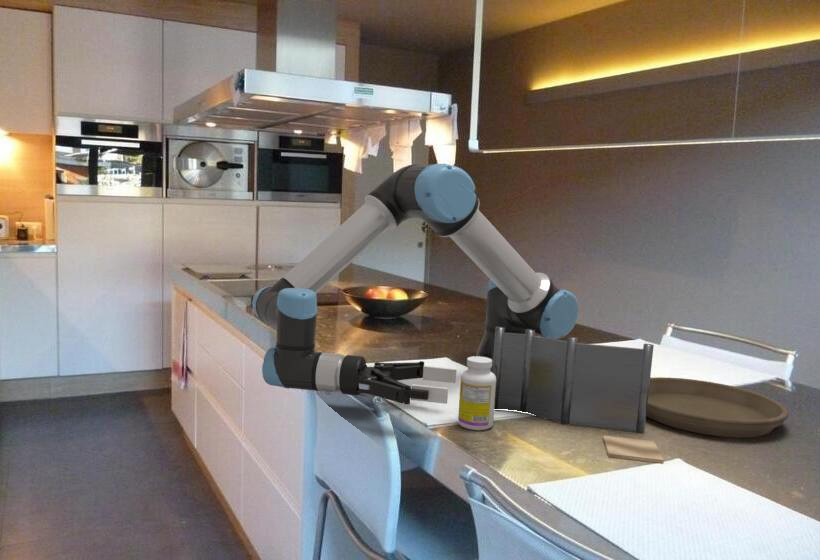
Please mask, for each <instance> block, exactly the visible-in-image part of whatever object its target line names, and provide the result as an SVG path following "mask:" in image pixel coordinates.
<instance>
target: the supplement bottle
mask: <svg viewBox="0 0 820 560" xmlns="http://www.w3.org/2000/svg"><path fill="white" fill-rule="evenodd" d="M466 366H467V369H466V370H464V371H463V372H462V373H461V375H460V381H459V382H460V385H459V387H460V388H459V401H458V418H457V419H458V421H457V422H458V424H459V426H461V427H462V428H464V429H468V430H471V431H486V430H489V429H491V428H493V425H494V417H495V411H494V405H495V390H496V376H495V375H494V374H493V373H492V371H491V370H492V368H491V367H492V359H490V358H487V357H480V356H474V355H473V356H468V357H467V358H466Z"/></svg>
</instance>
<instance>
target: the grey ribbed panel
mask: <svg viewBox="0 0 820 560" xmlns="http://www.w3.org/2000/svg"><path fill="white" fill-rule="evenodd" d="M504 330H505V328H504V327H496V329H495V343H494V356H493V368H491V370H492V371H491V372H492V373H493V374H494V375H495V376H496V390H495V405H494V409H508V410H517V411H522V412H528V413H531V414H534V415H536V416H538V417H537V418H540V417H542V418H541V419H544V418H546V419H545V420H548V419H550V420H549V421H551V420H553V421H552V422H555V421H557V422H556V423H559V422H560V423H559V424H561V423H562V424H561V425H564V424H573V425H572V426H578V425H582V426H581V427H587V426H592V427H591V428H597V427H599V428H598V429H606V428H608V429H607V430H617V431H626V432H632V433H633V432H634V433H637V434H644V433H645V431H646V422H647V421H646V420H647V416H646V413H647V403H648V394H649V385H650V378H651V375H652V366H653V365H652V363H653V356H654V344H651V343H643V345H642V346H643V347H642V348H635V347H628V346H627V347H625V346H615V345H604V344H603V345H602V344H593V343H584V342H583V343H581V342H578V337H575V336H568V337H567V340H563V339H562V340H561V339H553V338H546V337H544V336H542V335H535V334H536V333H535V330H532V329H526V334H518V333H507V332H504ZM536 416H535V417H536ZM600 427H601V428H600Z"/></svg>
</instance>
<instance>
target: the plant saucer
mask: <svg viewBox="0 0 820 560" xmlns="http://www.w3.org/2000/svg"><path fill="white" fill-rule="evenodd" d="M788 416H789V411H788V408H787V407H786V406H785V405H783V404H782V403H781V402H779V401H777V400H775V399H773V398H771V397H769V396H766V395H764V394H762V393H758V392H755V391H752V390H748V389H746V388H745V389H744V388H741V387H738V386H733V385H728V384H724V383H718V382H714V381H713V382H712V381H707V380H698V379H690V378H681V377H662V376H661V377H660V376H659V377H650V385H649V394H648V403H647V413H646V418H649V419H650V420H652V421H655V422H658V423H660V424H662V425H666V426H667V427H671V428H676V429H679V430H682V431H685V432H691V433H695V434H701V435H707V436H714V437H715V436H716V437H724V438H739V439H740V438H741V439H744V438H757V437H762V436H765V435H768V434H770V433H771V432H772V431H773V430H774V429H775V428H777V427H779V426H781V425H782V424H783V423H784V422H785V421H786V420H787V419H788Z"/></svg>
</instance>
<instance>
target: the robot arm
mask: <svg viewBox="0 0 820 560" xmlns="http://www.w3.org/2000/svg"><path fill="white" fill-rule="evenodd" d="M475 192H476V186H475V183H474V181H473V179H472V177H471V176H470V174H468V173H467V172H466V171H465V170H463V168H461V167H458V166H457V165H456V166H455V165H451V164H447V163H435V164H431V163H430V164H408V165H406V166H403V167H401V168H399V169H398V170H395V171H394V172H392V174H390V175H389V176H388V177H387V178H385V179H384V180H383V181H382V182H381V183H379V185H377V186H376V187H375V188H374V189H373V190H371V192H370V193H368V194H367V195H365V198H364V204H363V205H361V207H359V208H358V209H357V210H356V211H355V212H354V213H353V214H352V215H351V216H350V217H348V218H347V219H346V220H345V221H344V222H342V224H341V225H339V226H338V227H337V228H336V229H335V230H334V231H333V232H331V234H329V235H328V236H327V237H326V238H325V239H323V241H321V242H320V243H319V244H318V245H317V246H316V247H315V248H314V249H312V251H310V252H309V253H308V254H307V255H305V257H303V258H302V259H301V260H300V261H299V262H298V263H297V264H296V265H295V266H294V267H293V268H291V269H290V270H289V271H288V272H287V273H286V274H285V275H283V276H282V277H281V278H280V279H279V280H278V281H277V282H275V283H274V284H272V286H271V285H270V286H264V287H262V288H260V289H259V290H257V292H256V293H255V294H254V296H253V298H252V302H251V303H252V311H253V312H254V314H255V316H256V317H258V319H259V320H260V321H261V322H263V323H265V324H267V325H269V326H271V328H274V329H275V330H276V341H275V347H271V348H268V349H267V351H266V352H265V354H264V357H263V362H262V367H261V368H262V369H261V373H262V378H263V380H264V382H265V383H266V384H268V385H269V386H274V387H278V388H279V387H280V388H284V389H294V390H295V389H296V390H303V391H304V390H305V391H306V390H307V391H316V392H324V394H325V395H330V394H331V393H333V394H334V393H335V394H339V393H342V395H349V396H361V395H362V394H364V395H365V394H367V395H371V396H374V397H379V398H382V399H385V400H388V401H392V402H396V403H399V404H404V405H407V406H408V405H410V404H411V401H418V402H428V403H437V404H444V405H445V404H446V405H447V404H448V399H449V397H448V396H449V387H443V386H441V387H440V386H434V385H433V386H432V385H425V384H423V385H422V384H415V383H414V384H413V383H412V384H411V386H410V385H409V384H406V383H404V382H401V381H406V380H415V379H422V380H423V381H431V382H439V383H447V384H448V383H450V384H456V382H457V380H456V379H457V368H452V367H451V368H450V367H439V366H430V365H428V366H427V365H425V362H424V361H422V360H420V361H418V362H417V361H416V362H378V361H377V362H374V365H373V366H367V361H366V358H365V357H364V356H361V355H351V354H347V355H344V354H343V353H335V352H334V353H331V352H320V351H319V352H318V351H316V330H317V316H318V315H317V314H318V303H317V302H318V300H317V294H319V292H320V291H322V290H323V288H325V287H326V286H327V285H328V284H329V283H330V282H331V281H332V280H333V279H334V278H336V276H338V275H339V274H340V273H341V272H342V271H343V270H345V269H346V268H347V267H348V266H349V265H350V264H351V263H352V262H353V261H354V260H356V259H357V258H358V257H359V255H361V254H362V253H364V251H365V250H366V249H367V248H369V247H370V246H371V245H372V244H373V243H374V242H376V241H377V239H378V238H379V237H381V236H382V235H383V234H384V233H385V232H386V231H388V230H395V229H396V228H397V227H398V226H399V225H401V224H403V222H405V221H408V220H410V219H419V220H420V219H421V220H422V221H424V222H425V223H426V224H427V225H428V226H429V227H430V228H431V229H432V230H433V232H435V233H436V234H437V236H439V237H440V238H450V239H451V240H452V241H453V242H454V243H455V244H456V245H457V246H458V247H459V249H461V250H462V252H464V253H465V254H466V255H467V257H469V258H470V260H471V261H473V263H474V264H475V265H476V266H477V267H478V268H479V269H480V270H481V271H482V272H483V273H484V274H485V275H486V276H487V277H488V278H489V281H488V286H487V290H486V295H487V296H486V311H485V314H486V315H485V324H484V325H485V326H484V334H483V337H482V339H481V341H480V344H479V346H478V349H477V351H476V356H480V357H487V358H490V359H492V367H491V369H493V356H494V343H495V329H496V327H504V328H505V330H504V332H507V333H518V334H526V329H532V330H535V334H537V335H538V336H541V337H546V338H551V339H557V340H559V339H561V338H564V337H566V336H567V335H568V334H570V332H571V331H572V330H573V329H574V327H575V325H576V324H577V321H578V318H579V311H580V305H579V301H578V299H577V297H576V295H575V294H574V293H572V292H571V291H568V290H567V289H561V288H559V287H558V286H556V284H555V283H554V282H553V281H552V279H551V278H550V277H549V276H548V275H547V274H545V273H543V272H535V271H534V270H533V268H532V267H531V266H530V265H529V264H528V263H527V262H526V260H525V259H524V258H523V257H522V256H521V255H520V254H519V253H518V252H517V251H516V249H514V247H513V246H512V245H511V244H510V243H509V242H508V241H507V239H506V238H505V237H504V236H503V235H502V234H501V233H500V232H499V230H498V229H497V228H496V227H495V226H494V225H493V224H492V223H491V222H490V220H488V219H487V217H486V216H485V215H484V214H483V213H482V212H481V211H480V199H479V197H478V196H477V194H476V193H475Z"/></svg>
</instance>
